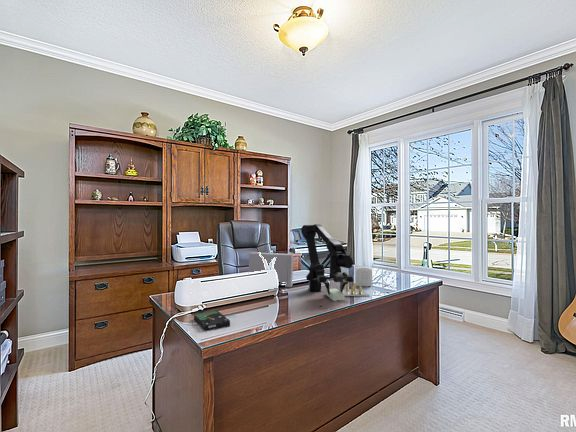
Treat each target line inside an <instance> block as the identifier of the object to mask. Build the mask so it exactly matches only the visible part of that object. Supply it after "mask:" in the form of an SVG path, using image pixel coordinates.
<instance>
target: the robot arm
mask: <svg viewBox="0 0 576 432" xmlns="http://www.w3.org/2000/svg"><path fill="white" fill-rule="evenodd" d="M300 231H301V234H302V237H303V238H304V239H305V240H306V241H305V242H306V246H307V250H308V255H309V262H310V265H309V268H308V271H309V272H308V273H307V275H306V276H305V277H306V281H308V292H311V293H313V292H314V293H315V292H316V293H317V292H318V293H319V292H322V283H323V284H324V286H325V290H326V289H327V292H328V294H329V295H330V290H329V289H330V282H329V281H333V282H335V283H339V289H340V291H341V292H342V291H343V289H345V288H346V284H348V283H354V277H353V276H352V275H350V274H348V273H347V271H345V272H342V268H344V269H351V268H352V267H353V265H354V261H353V258H352V257H351V254H347V252H346V250H345V248H344V245H343V243H342V242H341V241H339V240H337V239H335V238H333V237H332V236H331V235H330V233H329V232H328V231H327V230H326V228H324V226H323V225H322V224H320V223H319V224H318V223H316V224H304V225H302V226H301V230H300ZM316 235H318V236H319V237H320V238H321V240H322V241H323V242H324V243H325V245H326V249H327V251H328V252H329V253H328V254H327V257H329V275H328V276H326V275H325V272H326V271H325V267H324V264H321V263H320V260H319V256H318V255H319V254H318V250H317V244H316V239H315V237H316Z"/></svg>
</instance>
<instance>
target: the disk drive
mask: <svg viewBox="0 0 576 432" xmlns="http://www.w3.org/2000/svg"><path fill="white" fill-rule="evenodd" d="M193 320H194V321H195V322H196V324H197V325H198V326H199V327H200V328H201V329H202V330H203V331H204V332H207V331H212V330H218V329H224V328H229V327H231V320H230V319H229V318H227V316H225V315H224V314H223V313H221V312H220V311H218V310H211V311H205V312H201V313H197V314H196V313H195V314H194V316H193Z"/></svg>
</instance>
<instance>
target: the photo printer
mask: <svg viewBox="0 0 576 432" xmlns="http://www.w3.org/2000/svg"><path fill="white" fill-rule="evenodd" d="M355 283H356V287H359V286H361V287H368V286H373V270H372V267H369V266H358V267H356V270H355Z"/></svg>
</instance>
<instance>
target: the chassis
mask: <svg viewBox="0 0 576 432" xmlns="http://www.w3.org/2000/svg"><path fill="white" fill-rule="evenodd" d="M349 283H350V282H348V284H346V285H345V288H344V289H343V291H342V293H344V297H345V296H356V297H370V293H368V292H367V291H365V290H364V289H363V286H358V289H357V286H356V282H352V283H353V284H352V285H351V286H350V285H349ZM338 290H339V291H340V288H338Z"/></svg>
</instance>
